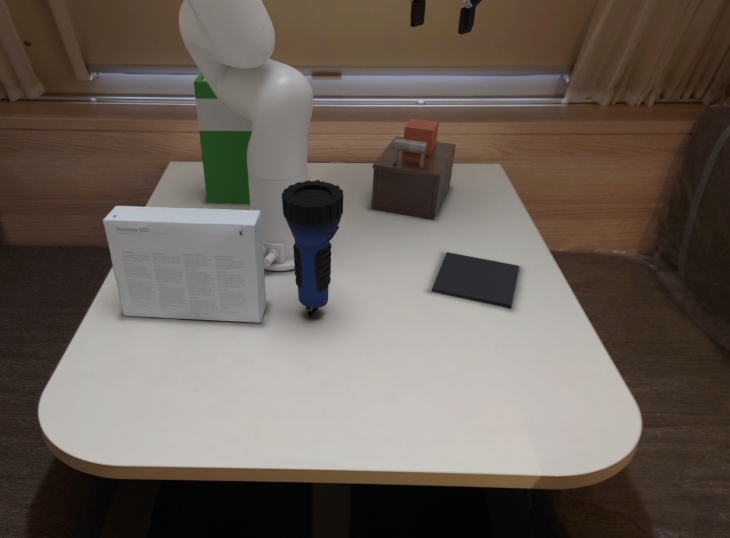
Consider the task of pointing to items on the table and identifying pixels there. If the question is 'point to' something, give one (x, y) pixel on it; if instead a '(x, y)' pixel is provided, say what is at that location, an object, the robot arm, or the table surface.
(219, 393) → the table surface
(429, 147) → the small box
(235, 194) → the hardback book
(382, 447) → the table surface
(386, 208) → the chest
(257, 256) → the skincare box
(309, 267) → the flashlight
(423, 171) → the lid
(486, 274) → the mat
